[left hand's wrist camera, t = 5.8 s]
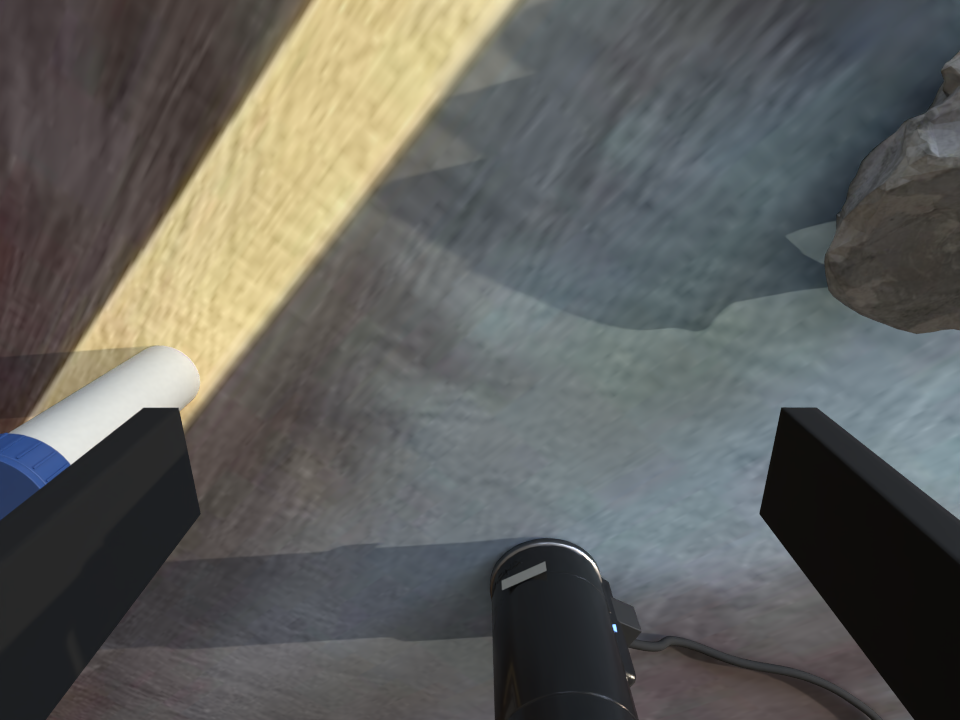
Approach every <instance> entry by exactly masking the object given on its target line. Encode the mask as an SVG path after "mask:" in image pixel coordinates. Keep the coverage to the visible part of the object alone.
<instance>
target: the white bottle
mask: <svg viewBox="0 0 960 720" xmlns="http://www.w3.org/2000/svg"><path fill="white" fill-rule="evenodd" d="M199 387H200V377H199V373H198V370H197V368H196V366H195V364H194V363H193V362H192V360H191V359H190V358H189V357H188V356H186V355H185V354H184V353H182V352H181V351H179V350H177V349H175V348H172V347H168V346H152V347H149V348H146V349H144V350H143V351H141V352H140V353H138V354H136V355H135V356H133V357H131V358H130V359H128V360H127V361H125V362H123V363H122V364H120V365H118V366H117V367H115V368H114V369H112V370H110V371H109V372H107V373H105V374H104V375H102V376H101V377H99V378H97V379H96V380H94V381H92V382H91V383H89V384H88V385H86V386H84V387H83V388H81V389H79V390H78V391H76V392H75V393H73V394H71V395H70V396H68V397H66V398H65V399H63V400H62V401H60V402H58V403H57V404H55V405H53V406H52V407H50V408H49V409H47V410H45V411H44V412H42V413H40V414H39V415H37V416H36V417H34V418H32V419H31V420H29V421H27V422H26V423H24V424H23V425H21V426H19V427H18V428H16V429H14V430H13V431H11V432H10V434H21V435H25V436H29V437H32V438H35V439H38V440H40V441H42V442H44V443H46V444H48V445H49V446H51V447H52V448H54V449H55V450H57V451H58V452H59V453H60V454H61V455H63V456H64V457H65V459H66V460H67V461H68V462H69V463H70V464H72V463H74V462H75V461H76V460H78V459H79V458H80V457H81V456H83V455H84V454H85V453H86V452H88V451H89V450H90V449H92V448H93V447H94V446H95V445H97V444H98V443H99V442H100V441H102V440H103V439H104V438H106V437H107V436H108V435H109V434H111V433H112V432H113V431H114V430H116V429H117V428H118V427H119V426H121V425H122V424H123V423H125V422H126V421H127V420H128V419H130V418H131V417H132V416H133V415H135V414H136V413H137V412H139V411H140V410H141V409H142V408H179V411H181V410H182V409H183V408H184V407H185V406H186V405H187V404H188V403H190V402H191V401H192V400H193V399H194V398H195V396H196V395H197V393H198V391H199Z"/></svg>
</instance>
